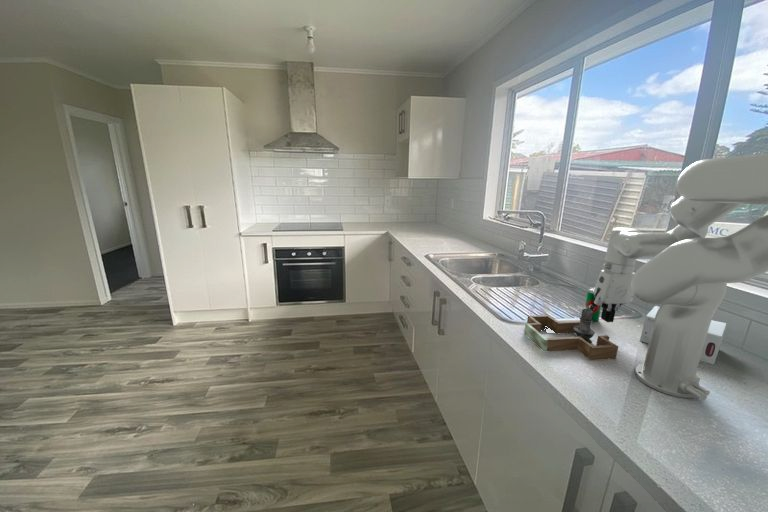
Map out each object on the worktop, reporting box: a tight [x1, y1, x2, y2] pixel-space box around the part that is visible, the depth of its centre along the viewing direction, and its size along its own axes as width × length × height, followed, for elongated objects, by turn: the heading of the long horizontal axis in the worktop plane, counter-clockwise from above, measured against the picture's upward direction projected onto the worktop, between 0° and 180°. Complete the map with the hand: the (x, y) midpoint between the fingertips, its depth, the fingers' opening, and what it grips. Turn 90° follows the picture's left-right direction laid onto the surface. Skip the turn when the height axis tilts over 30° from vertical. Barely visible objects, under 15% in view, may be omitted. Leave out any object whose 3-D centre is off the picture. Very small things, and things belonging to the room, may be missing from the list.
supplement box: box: [639, 305, 727, 365], centre depth 95 cm, size 17×13×9 cm
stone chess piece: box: [573, 306, 596, 345], centre depth 98 cm, size 6×6×12 cm
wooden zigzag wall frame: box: [523, 314, 619, 361], centre depth 98 cm, size 22×21×4 cm
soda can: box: [583, 287, 602, 323], centre depth 112 cm, size 5×5×12 cm
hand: (606, 320), depth 99 cm, fingers closed
